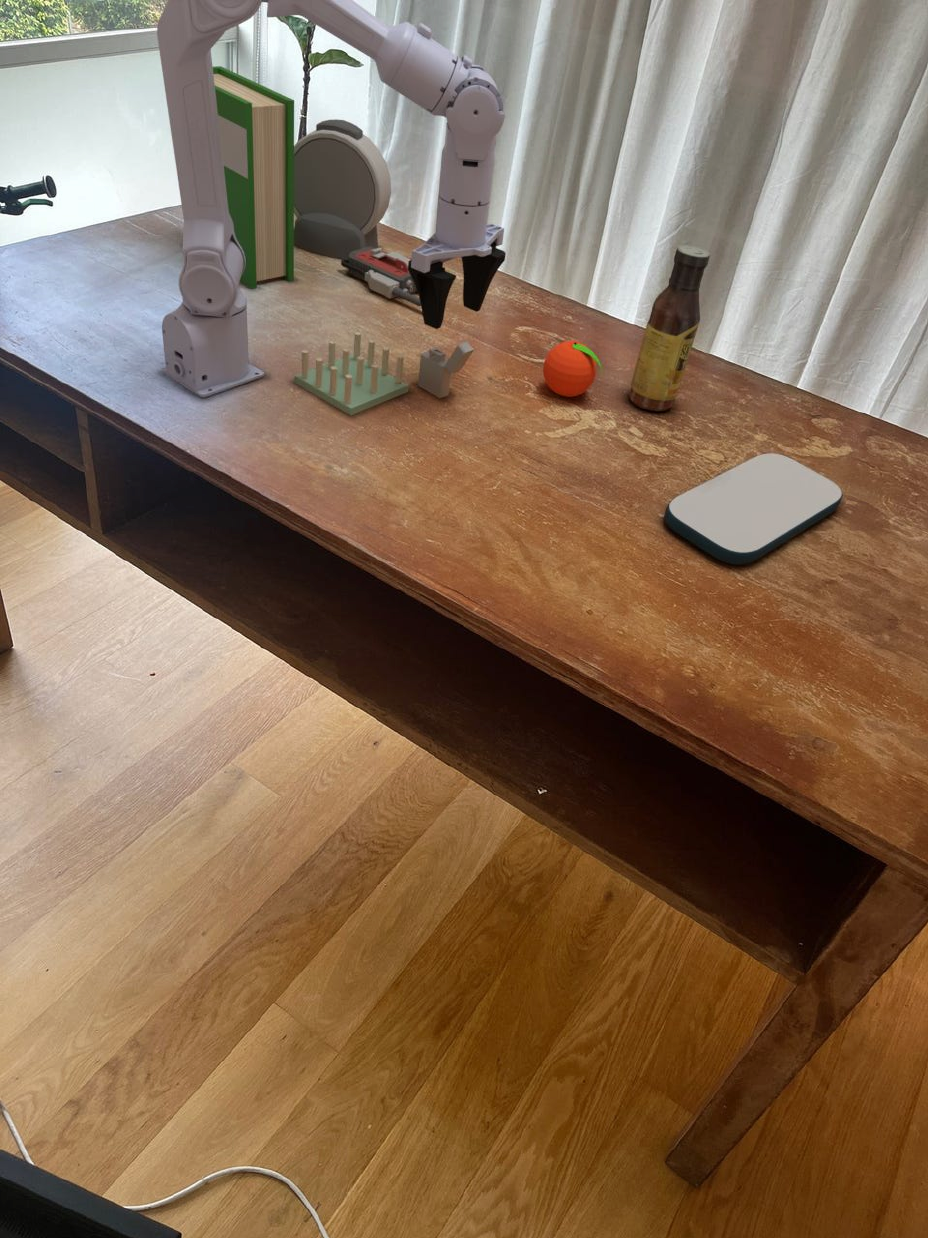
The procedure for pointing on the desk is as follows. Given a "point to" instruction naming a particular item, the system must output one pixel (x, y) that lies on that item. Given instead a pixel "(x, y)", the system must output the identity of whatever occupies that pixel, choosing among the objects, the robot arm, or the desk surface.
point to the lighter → (441, 368)
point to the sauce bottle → (670, 333)
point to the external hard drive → (752, 507)
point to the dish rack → (352, 378)
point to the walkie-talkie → (383, 272)
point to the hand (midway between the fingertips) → (452, 316)
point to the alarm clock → (338, 190)
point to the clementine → (570, 368)
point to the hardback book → (258, 173)
